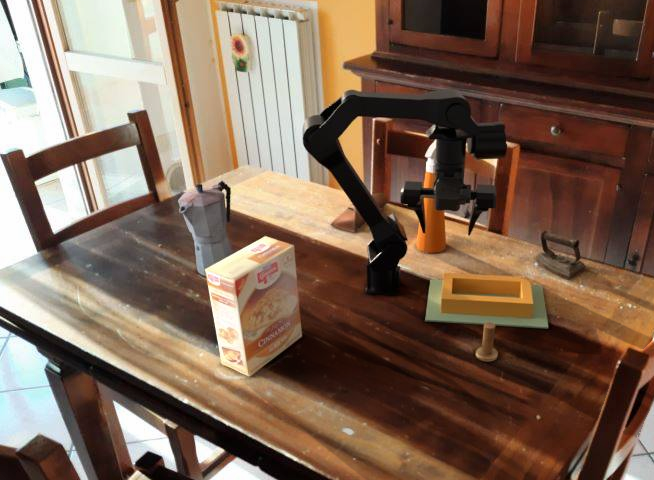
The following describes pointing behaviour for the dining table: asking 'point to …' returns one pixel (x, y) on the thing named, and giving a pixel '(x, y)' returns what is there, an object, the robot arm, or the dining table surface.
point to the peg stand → (487, 344)
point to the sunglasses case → (356, 215)
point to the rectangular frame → (487, 304)
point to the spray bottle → (431, 212)
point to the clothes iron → (557, 262)
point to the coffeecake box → (255, 304)
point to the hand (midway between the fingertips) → (446, 233)
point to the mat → (436, 316)
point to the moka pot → (208, 223)
